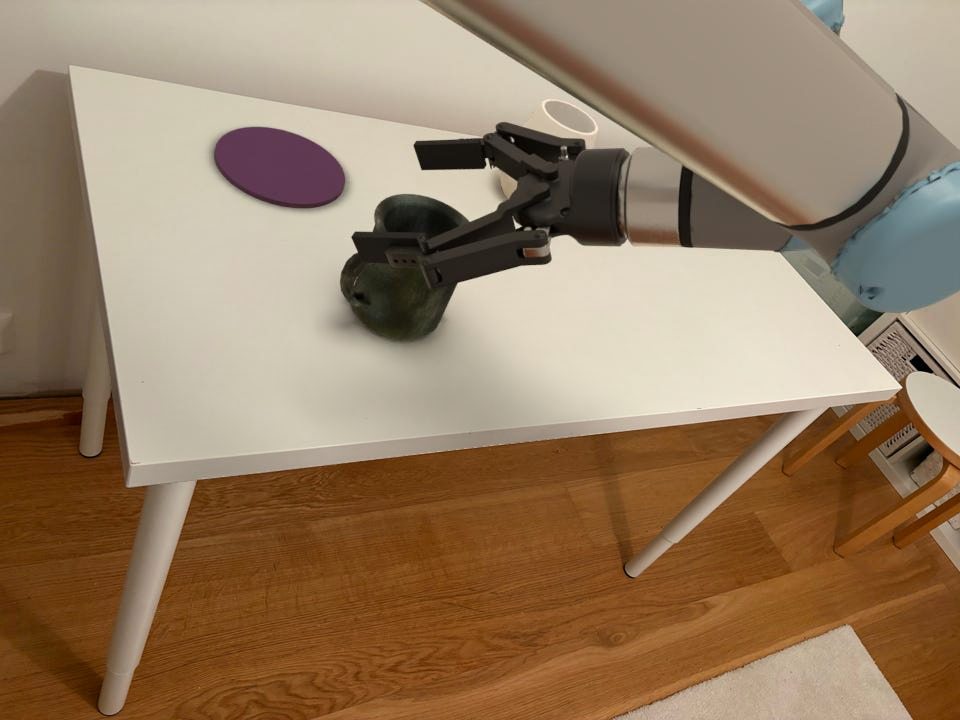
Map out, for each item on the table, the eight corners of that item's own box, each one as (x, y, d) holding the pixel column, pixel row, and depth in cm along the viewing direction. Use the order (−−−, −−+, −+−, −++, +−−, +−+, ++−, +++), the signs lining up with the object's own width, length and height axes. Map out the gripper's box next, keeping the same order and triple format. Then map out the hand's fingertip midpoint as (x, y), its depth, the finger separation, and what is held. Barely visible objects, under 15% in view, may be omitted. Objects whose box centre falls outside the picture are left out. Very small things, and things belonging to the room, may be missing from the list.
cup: (527, 165, 116) (565, 86, 107) (585, 216, 112) (630, 139, 103) (471, 176, 107) (507, 91, 98) (532, 232, 103) (576, 149, 94)
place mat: (185, 145, 87) (185, 141, 86) (282, 120, 98) (283, 116, 98) (280, 222, 84) (281, 218, 83) (368, 187, 95) (370, 183, 95)
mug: (460, 331, 82) (500, 251, 74) (356, 367, 73) (390, 279, 65) (405, 269, 86) (437, 187, 78) (300, 295, 77) (325, 204, 69)
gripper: (599, 346, 51) (345, 327, 59) (658, 151, 66) (449, 156, 74) (586, 265, 46) (309, 256, 54) (653, 73, 61) (429, 88, 69)
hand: (390, 198), depth 64 cm, fingers open, 13 cm apart
